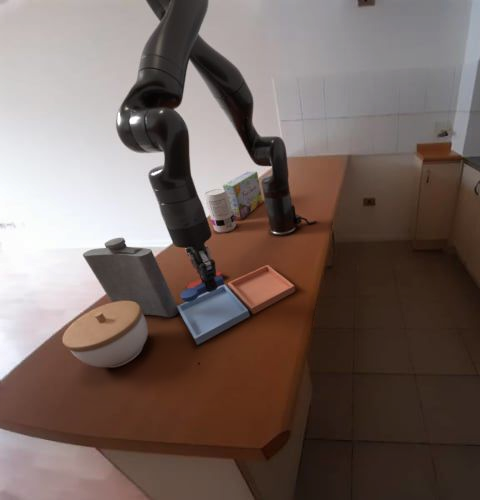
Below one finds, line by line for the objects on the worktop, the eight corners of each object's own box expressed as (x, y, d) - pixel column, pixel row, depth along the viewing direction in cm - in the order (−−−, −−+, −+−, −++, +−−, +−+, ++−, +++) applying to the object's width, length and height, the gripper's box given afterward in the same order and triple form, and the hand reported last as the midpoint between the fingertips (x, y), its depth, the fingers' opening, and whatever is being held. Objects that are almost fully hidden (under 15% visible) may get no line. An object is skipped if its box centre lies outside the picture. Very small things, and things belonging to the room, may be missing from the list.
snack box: (243, 220, 116) (234, 185, 108) (230, 220, 117) (221, 185, 109) (263, 202, 134) (257, 170, 126) (253, 201, 135) (246, 170, 127)
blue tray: (226, 289, 75) (224, 284, 74) (249, 316, 66) (248, 310, 65) (179, 311, 69) (176, 306, 68) (197, 345, 59) (194, 338, 58)
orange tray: (268, 270, 82) (267, 264, 81) (295, 291, 73) (294, 285, 72) (229, 288, 76) (227, 282, 75) (253, 314, 66) (251, 308, 65)
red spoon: (219, 274, 82) (218, 270, 81) (224, 279, 79) (222, 275, 79) (187, 288, 77) (185, 284, 76) (190, 294, 74) (189, 289, 74)
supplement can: (210, 232, 108) (198, 195, 100) (224, 223, 114) (214, 188, 107) (226, 234, 105) (215, 196, 98) (240, 225, 112) (231, 189, 104)
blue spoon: (220, 279, 67) (218, 273, 66) (226, 285, 65) (224, 279, 64) (180, 296, 62) (177, 291, 61) (184, 304, 60) (182, 298, 59)
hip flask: (116, 315, 69) (72, 245, 59) (128, 304, 73) (89, 237, 63) (174, 317, 67) (139, 245, 57) (183, 306, 70) (152, 236, 60)
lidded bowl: (103, 391, 51) (71, 350, 45) (76, 362, 57) (45, 324, 52) (169, 343, 60) (148, 304, 54) (139, 323, 66) (118, 286, 61)
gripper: (216, 222, 53) (238, 293, 62) (194, 205, 62) (216, 269, 71) (175, 236, 49) (204, 310, 58) (157, 215, 58) (185, 282, 67)
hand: (210, 287), depth 64 cm, fingers closed on blue spoon, 2 cm apart
